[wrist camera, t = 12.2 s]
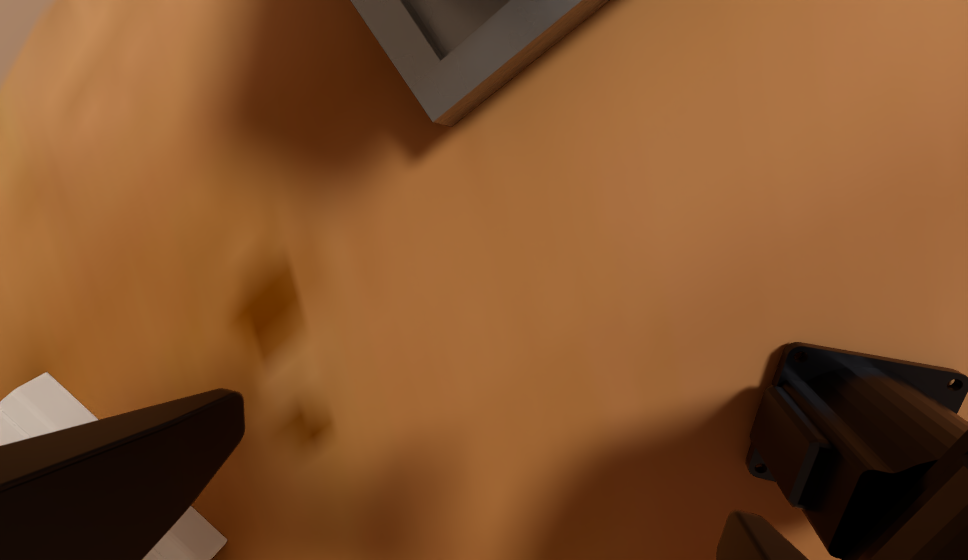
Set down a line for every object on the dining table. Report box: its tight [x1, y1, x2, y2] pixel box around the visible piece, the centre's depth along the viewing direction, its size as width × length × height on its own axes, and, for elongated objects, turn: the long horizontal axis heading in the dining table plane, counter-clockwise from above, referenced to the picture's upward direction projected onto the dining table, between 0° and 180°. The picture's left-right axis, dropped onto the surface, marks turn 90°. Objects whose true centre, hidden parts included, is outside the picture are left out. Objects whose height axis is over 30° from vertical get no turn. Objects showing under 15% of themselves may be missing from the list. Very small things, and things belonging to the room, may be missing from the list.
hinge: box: [0, 372, 227, 560], centre depth 27 cm, size 17×5×10 cm, turn 46°
